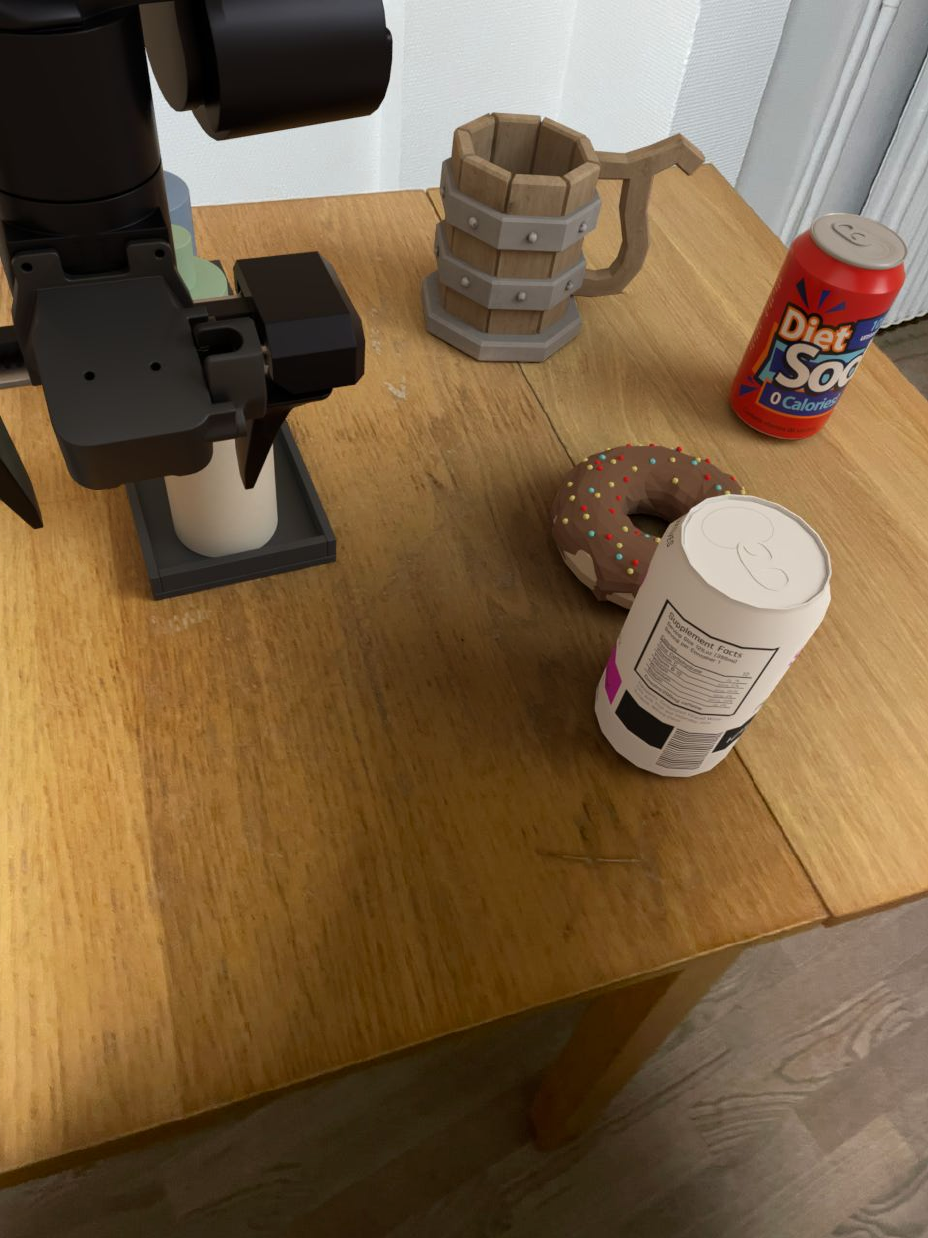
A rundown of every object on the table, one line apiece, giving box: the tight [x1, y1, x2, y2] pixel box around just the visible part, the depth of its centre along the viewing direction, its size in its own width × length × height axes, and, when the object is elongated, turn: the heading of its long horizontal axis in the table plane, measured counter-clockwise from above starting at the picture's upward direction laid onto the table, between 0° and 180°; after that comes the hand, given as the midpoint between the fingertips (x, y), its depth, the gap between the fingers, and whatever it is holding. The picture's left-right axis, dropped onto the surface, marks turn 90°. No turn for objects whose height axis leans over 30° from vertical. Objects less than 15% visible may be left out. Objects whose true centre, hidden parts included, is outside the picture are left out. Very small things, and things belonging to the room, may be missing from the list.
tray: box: [124, 259, 337, 602], centre depth 63 cm, size 11×31×2 cm, turn 22°
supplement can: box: [594, 494, 833, 778], centre depth 47 cm, size 8×8×15 cm
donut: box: [547, 443, 747, 610], centre depth 59 cm, size 14×14×5 cm
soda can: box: [728, 212, 908, 440], centre depth 66 cm, size 8×8×15 cm
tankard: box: [420, 111, 706, 363], centre depth 70 cm, size 20×13×15 cm, turn 97°
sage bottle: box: [171, 224, 228, 300], centre depth 58 cm, size 6×6×13 cm
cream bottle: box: [164, 439, 278, 558], centre depth 53 cm, size 6×6×13 cm
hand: (146, 501), depth 41 cm, fingers open, 9 cm apart
